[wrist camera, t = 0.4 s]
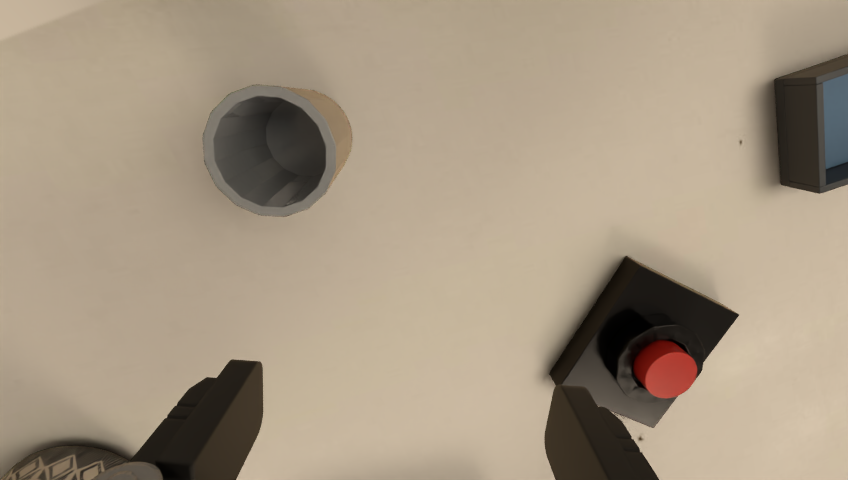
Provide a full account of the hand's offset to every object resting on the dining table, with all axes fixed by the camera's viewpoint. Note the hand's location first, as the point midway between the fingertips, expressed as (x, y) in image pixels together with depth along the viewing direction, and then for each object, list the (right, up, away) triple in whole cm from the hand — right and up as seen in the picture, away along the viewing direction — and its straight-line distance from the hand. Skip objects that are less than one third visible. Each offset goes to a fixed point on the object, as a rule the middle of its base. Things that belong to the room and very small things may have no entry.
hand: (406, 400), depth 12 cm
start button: (+19, -5, +22) cm, 29 cm away
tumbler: (-8, +12, +18) cm, 23 cm away
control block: (+18, -4, +26) cm, 32 cm away
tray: (+31, +14, +21) cm, 40 cm away
